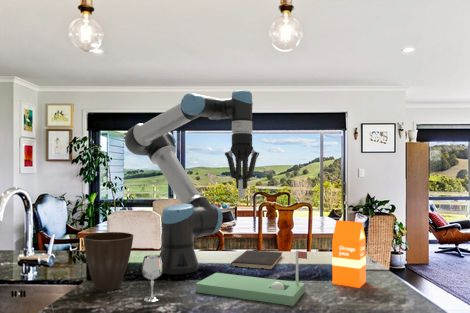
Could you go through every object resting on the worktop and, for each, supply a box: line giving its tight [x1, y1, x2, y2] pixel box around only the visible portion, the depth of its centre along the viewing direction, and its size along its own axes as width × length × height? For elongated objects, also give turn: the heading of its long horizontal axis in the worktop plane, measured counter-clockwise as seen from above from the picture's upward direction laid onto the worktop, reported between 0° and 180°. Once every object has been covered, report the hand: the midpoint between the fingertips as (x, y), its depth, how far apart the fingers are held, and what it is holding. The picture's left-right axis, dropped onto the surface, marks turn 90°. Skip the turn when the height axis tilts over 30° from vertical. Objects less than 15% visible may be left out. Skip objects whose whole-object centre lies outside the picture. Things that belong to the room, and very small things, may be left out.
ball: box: [271, 282, 284, 290], centre depth 119 cm, size 4×4×4 cm
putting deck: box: [195, 249, 308, 306], centre depth 123 cm, size 31×14×12 cm, turn 67°
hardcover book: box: [230, 249, 283, 270], centre depth 163 cm, size 16×23×2 cm
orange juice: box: [331, 220, 367, 289], centre depth 133 cm, size 8×9×20 cm
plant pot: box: [83, 231, 134, 292], centre depth 127 cm, size 15×15×16 cm
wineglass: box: [141, 254, 163, 303], centre depth 115 cm, size 6×6×12 cm
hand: (241, 197), depth 148 cm, fingers closed
